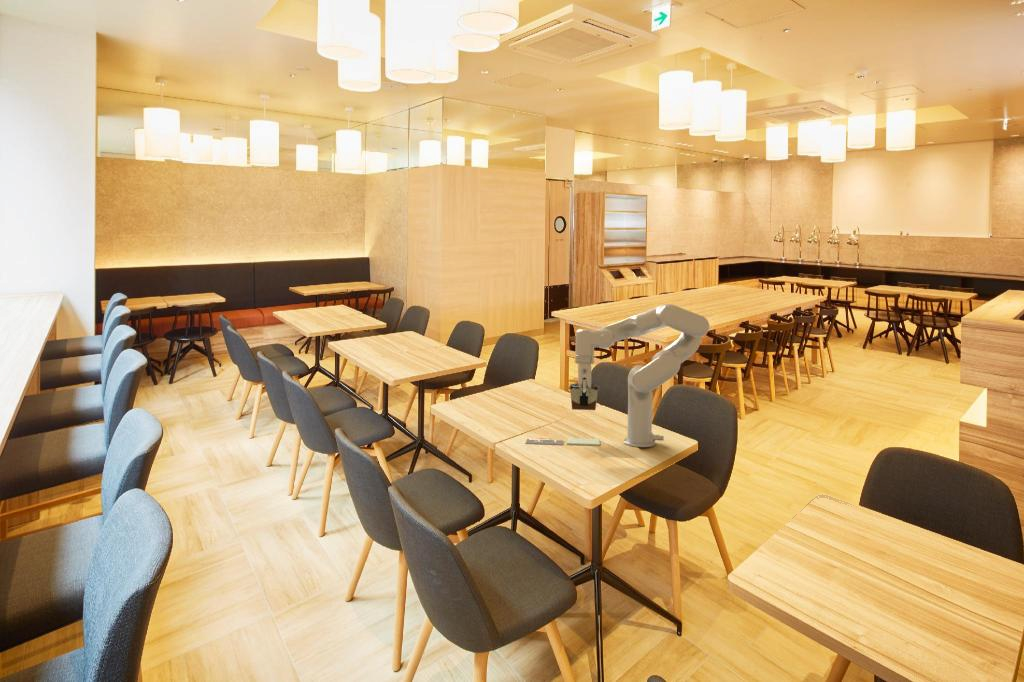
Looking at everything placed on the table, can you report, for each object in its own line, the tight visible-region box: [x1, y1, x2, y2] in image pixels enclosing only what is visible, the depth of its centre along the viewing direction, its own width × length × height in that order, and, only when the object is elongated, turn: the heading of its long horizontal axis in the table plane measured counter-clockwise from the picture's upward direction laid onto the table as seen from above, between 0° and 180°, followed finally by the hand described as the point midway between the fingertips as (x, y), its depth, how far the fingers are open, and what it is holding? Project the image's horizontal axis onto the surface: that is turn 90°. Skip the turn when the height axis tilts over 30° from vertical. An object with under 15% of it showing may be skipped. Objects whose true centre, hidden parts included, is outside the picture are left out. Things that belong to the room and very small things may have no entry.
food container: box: [568, 382, 600, 411], centre depth 224 cm, size 12×6×10 cm, turn 84°
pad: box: [566, 437, 601, 447], centre depth 225 cm, size 13×11×1 cm
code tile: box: [525, 438, 564, 446], centre depth 225 cm, size 15×11×1 cm
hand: (583, 403), depth 224 cm, fingers closed on food container, 5 cm apart
